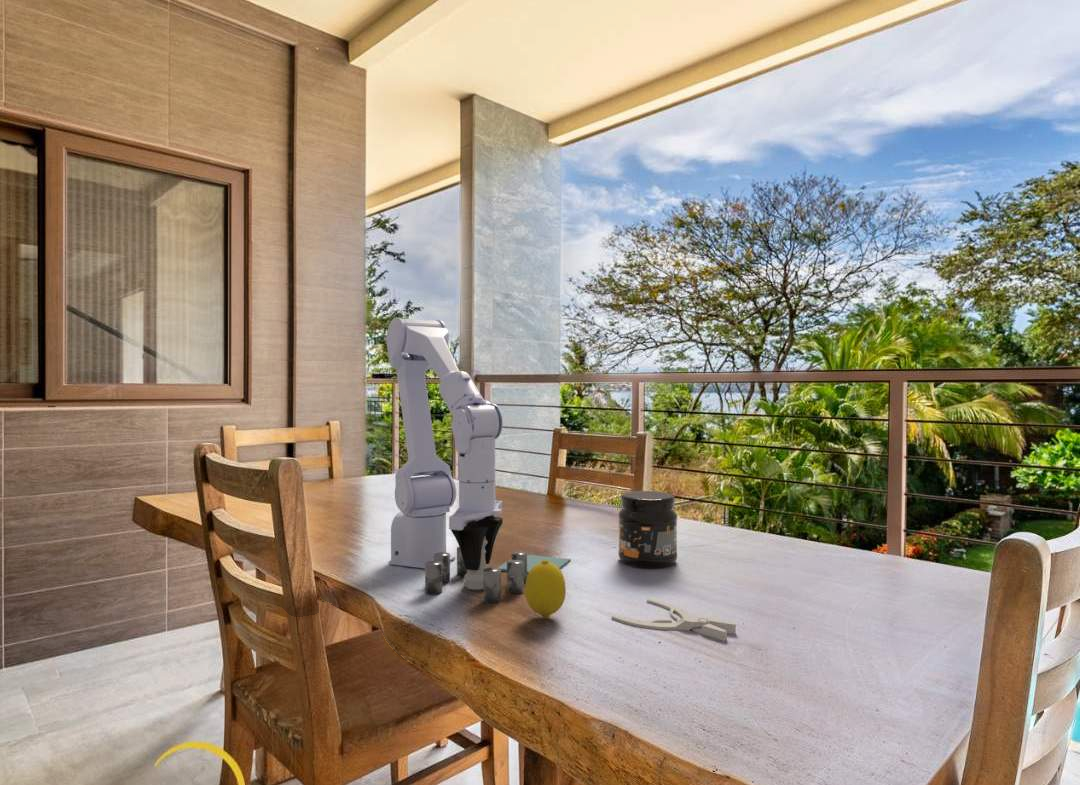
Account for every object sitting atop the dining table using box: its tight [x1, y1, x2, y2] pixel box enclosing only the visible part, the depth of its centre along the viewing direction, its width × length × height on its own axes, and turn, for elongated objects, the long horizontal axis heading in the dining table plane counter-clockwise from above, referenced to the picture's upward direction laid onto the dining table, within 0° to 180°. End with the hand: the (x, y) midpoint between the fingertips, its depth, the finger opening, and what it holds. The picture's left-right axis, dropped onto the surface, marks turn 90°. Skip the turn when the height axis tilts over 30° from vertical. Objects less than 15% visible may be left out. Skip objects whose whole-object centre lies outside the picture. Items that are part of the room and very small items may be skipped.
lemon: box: [524, 560, 567, 619], centre depth 88 cm, size 6×6×8 cm
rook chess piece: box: [463, 537, 488, 591], centre depth 102 cm, size 4×4×8 cm
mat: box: [497, 554, 571, 575], centre depth 113 cm, size 10×10×1 cm
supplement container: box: [617, 490, 678, 569], centre depth 116 cm, size 10×10×12 cm
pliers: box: [611, 598, 737, 642], centre depth 86 cm, size 10×2×15 cm
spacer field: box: [424, 546, 528, 604], centre depth 102 cm, size 16×13×4 cm
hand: (477, 566), depth 102 cm, fingers closed on rook chess piece, 3 cm apart
